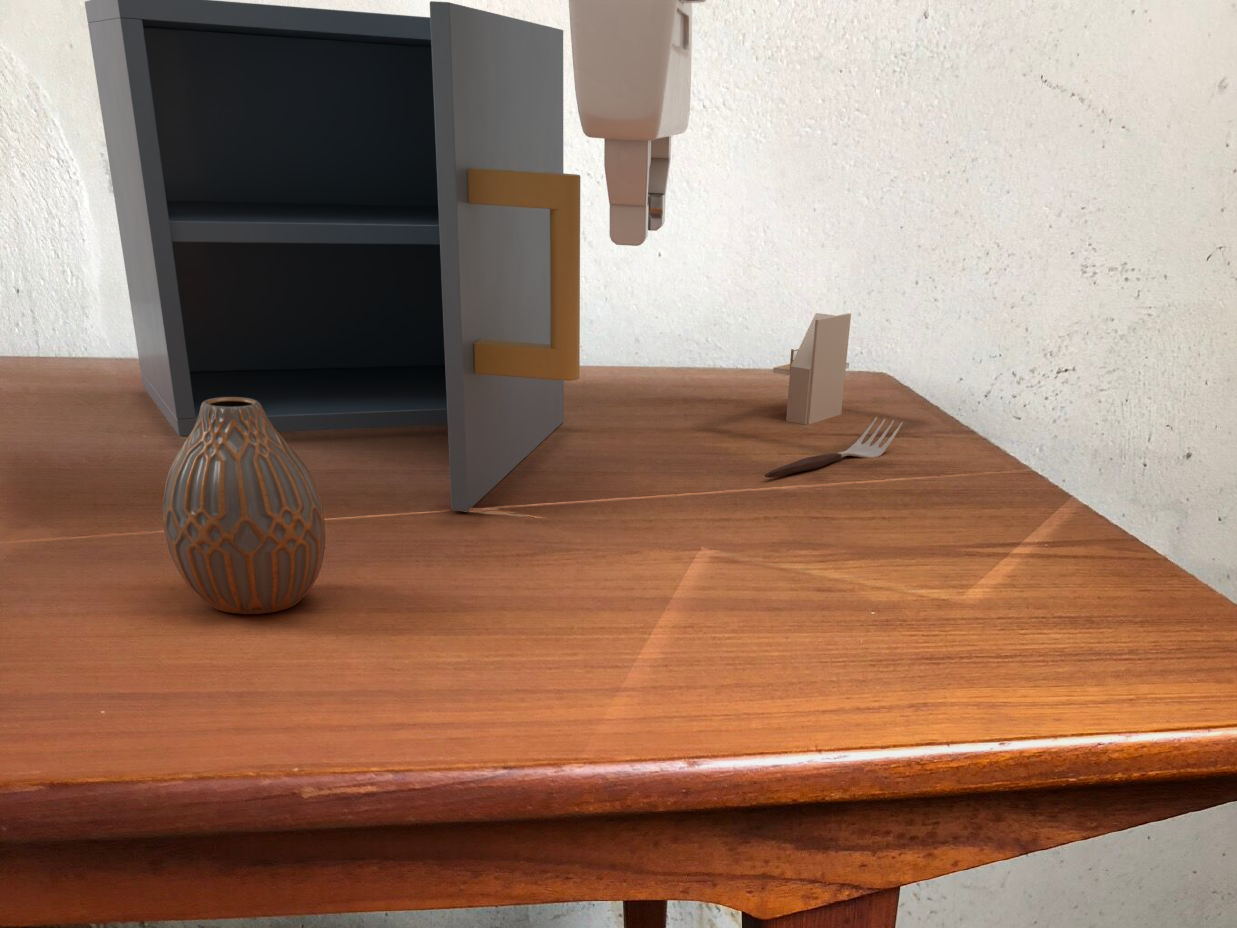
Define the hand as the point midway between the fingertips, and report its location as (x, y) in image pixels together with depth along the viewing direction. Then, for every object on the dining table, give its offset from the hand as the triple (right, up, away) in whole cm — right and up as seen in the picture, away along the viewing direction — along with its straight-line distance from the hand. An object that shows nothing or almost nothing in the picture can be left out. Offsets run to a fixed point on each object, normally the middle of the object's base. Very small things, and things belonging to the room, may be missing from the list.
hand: (638, 236), depth 72 cm
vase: (-17, -22, -9) cm, 29 cm away
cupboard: (-23, +3, +30) cm, 38 cm away
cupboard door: (-6, -6, +16) cm, 19 cm away
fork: (+12, -5, +21) cm, 25 cm away
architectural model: (+12, +3, +34) cm, 36 cm away
